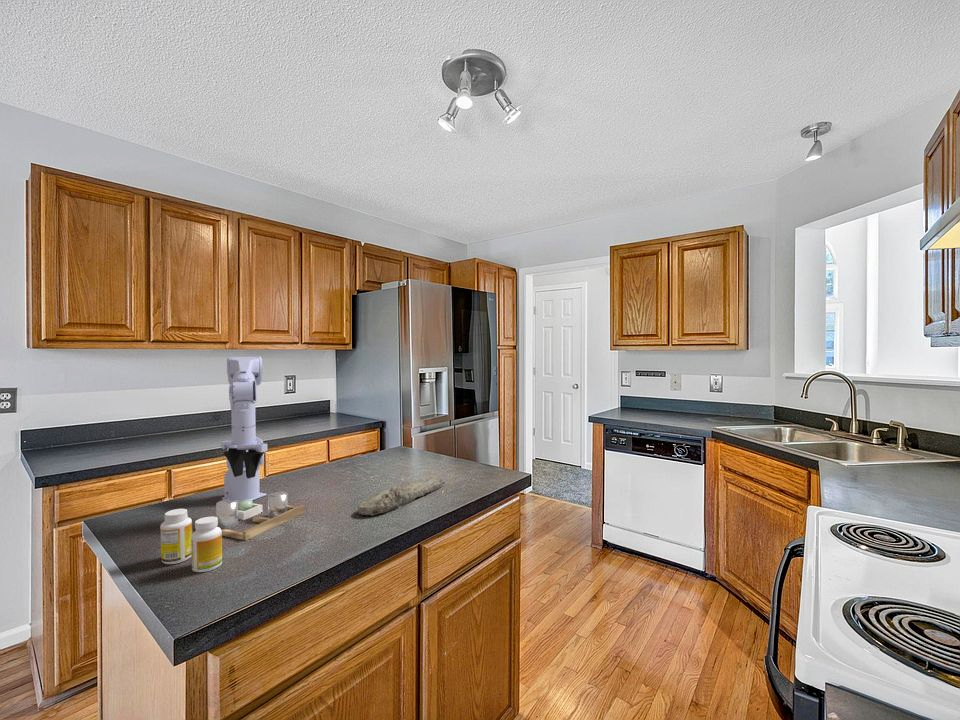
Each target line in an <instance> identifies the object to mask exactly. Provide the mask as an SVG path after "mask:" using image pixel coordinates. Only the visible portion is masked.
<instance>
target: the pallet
mask: <svg viewBox="0 0 960 720" xmlns="http://www.w3.org/2000/svg"><path fill="white" fill-rule="evenodd" d="M305 506H306V505H305V504H300V505H298V506H295V505H289V504H288V511H287V512H285V513H282V514H280V515H278V516H276V517H273V518H268V517H265V516H259V515H255V516H252V522H253V523H258V524H256V525H253V526H252V527H249V528H247V529H245V530H243V531H239V530H232V529H221V530H222V537H228V538H232V539H237V540H241V541H242V540H243V541H249V539H252V538H254V537H256V536H259V535H260V534H262V533H265V532H267V531H268V530H271V529H273V528H275V527H277V526H279V525H281V524H283V523H286V522H287V521H290V520H292V519H294V518H296V517H298V516H301V515H303V514H304V513H306V507H305Z"/></svg>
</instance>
